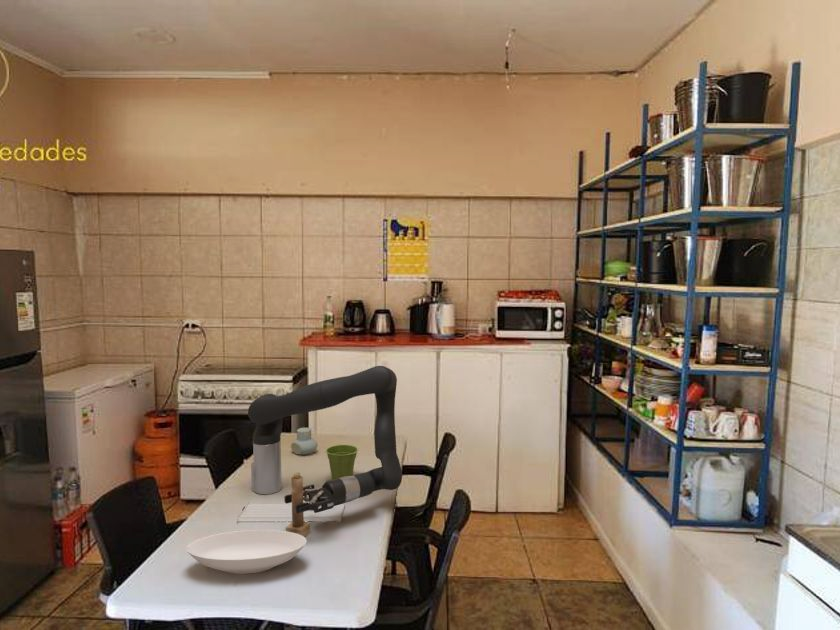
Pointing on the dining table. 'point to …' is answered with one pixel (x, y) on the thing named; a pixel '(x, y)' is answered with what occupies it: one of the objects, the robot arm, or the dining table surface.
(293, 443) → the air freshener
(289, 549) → the bowl
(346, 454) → the plant pot
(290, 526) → the brown peg on stand
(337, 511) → the baseboard molding
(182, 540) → the dining table surface
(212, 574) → the dining table surface
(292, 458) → the dining table surface
